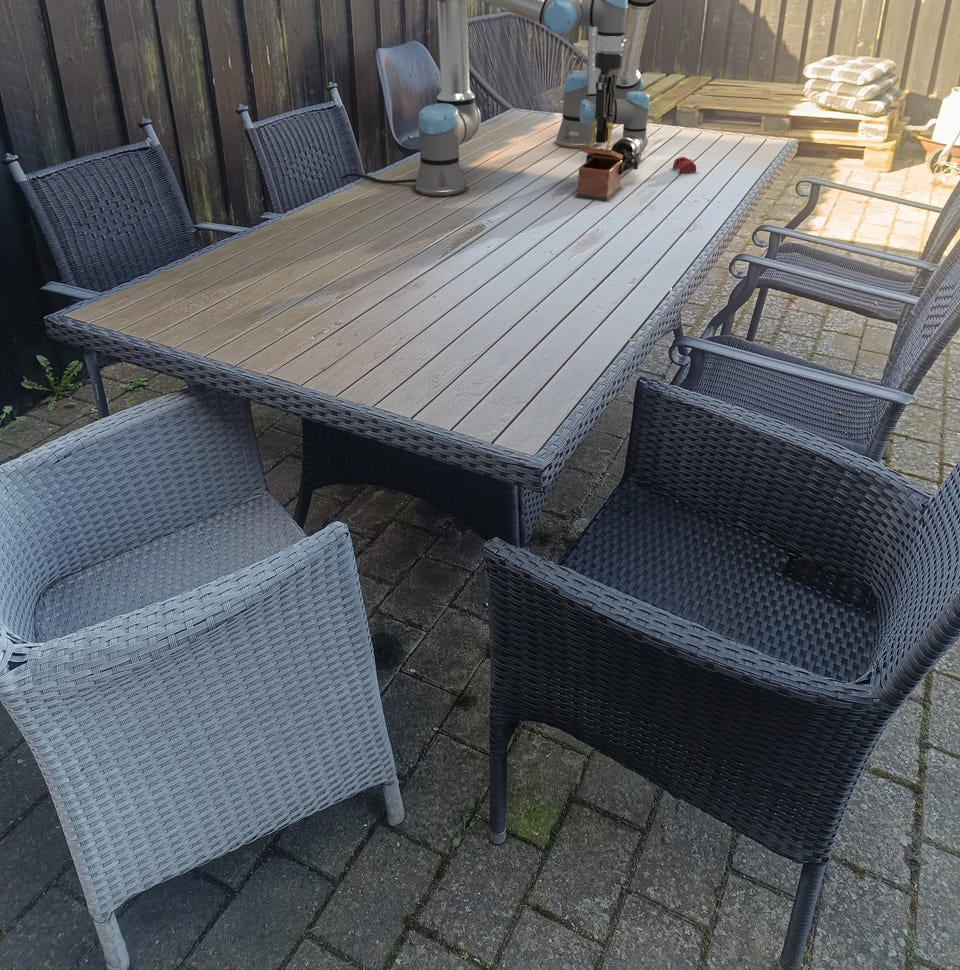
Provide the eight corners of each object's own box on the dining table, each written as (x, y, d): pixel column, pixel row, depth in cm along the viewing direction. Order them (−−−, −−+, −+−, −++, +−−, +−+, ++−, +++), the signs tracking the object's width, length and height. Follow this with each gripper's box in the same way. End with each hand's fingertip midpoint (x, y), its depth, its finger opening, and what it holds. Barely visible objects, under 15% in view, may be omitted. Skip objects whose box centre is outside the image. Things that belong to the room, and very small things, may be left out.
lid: (610, 154, 241) (616, 122, 239) (580, 150, 244) (585, 119, 242) (622, 159, 254) (627, 129, 251) (593, 156, 257) (598, 126, 254)
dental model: (688, 153, 276) (699, 160, 270) (686, 166, 279) (697, 173, 272) (672, 155, 275) (682, 161, 269) (670, 168, 278) (681, 175, 271)
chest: (606, 201, 249) (609, 171, 244) (577, 197, 252) (579, 167, 247) (619, 188, 259) (622, 159, 254) (591, 185, 262) (593, 156, 257)
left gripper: (614, 56, 226) (606, 148, 239) (630, 49, 236) (621, 137, 250) (588, 54, 228) (581, 145, 242) (604, 47, 239) (597, 134, 253)
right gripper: (657, 166, 270) (638, 185, 253) (591, 159, 277) (569, 176, 261) (659, 141, 266) (640, 159, 249) (593, 135, 273) (570, 151, 256)
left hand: (601, 141), depth 246 cm, fingers closed on lid, 1 cm apart
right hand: (604, 168), depth 255 cm, fingers closed on chest, 9 cm apart
